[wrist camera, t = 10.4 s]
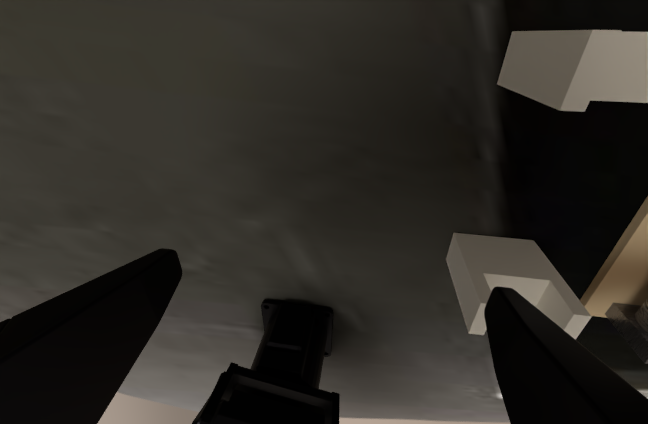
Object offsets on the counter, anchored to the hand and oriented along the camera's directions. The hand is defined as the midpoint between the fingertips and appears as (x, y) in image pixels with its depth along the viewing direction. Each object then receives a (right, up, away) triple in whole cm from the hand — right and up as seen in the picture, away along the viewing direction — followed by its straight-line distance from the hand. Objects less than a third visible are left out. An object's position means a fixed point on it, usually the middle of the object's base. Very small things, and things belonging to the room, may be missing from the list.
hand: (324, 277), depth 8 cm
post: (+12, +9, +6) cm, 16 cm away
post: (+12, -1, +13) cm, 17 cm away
